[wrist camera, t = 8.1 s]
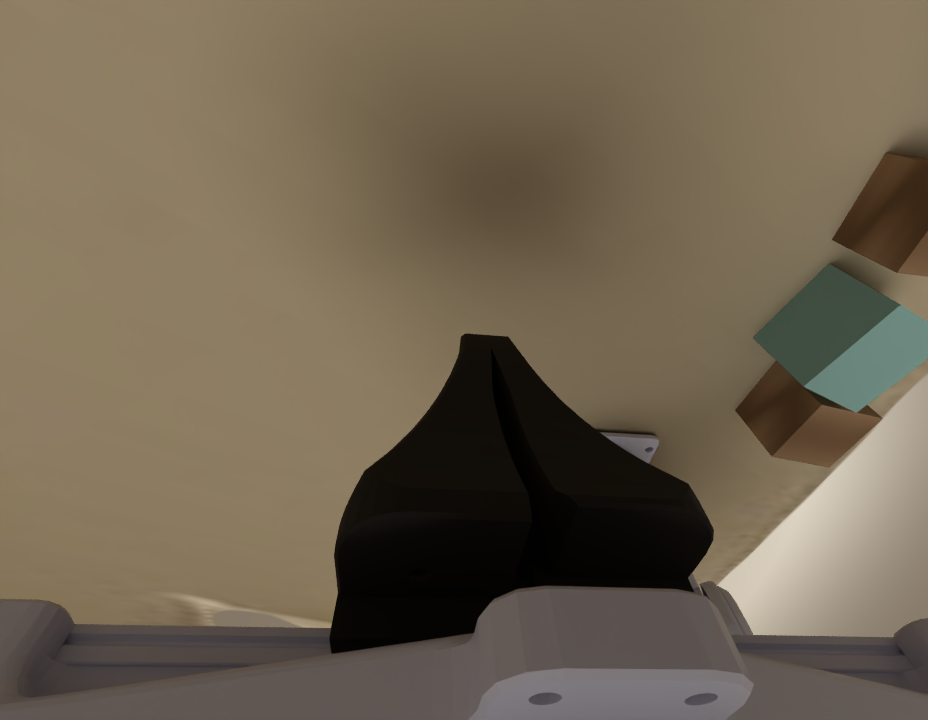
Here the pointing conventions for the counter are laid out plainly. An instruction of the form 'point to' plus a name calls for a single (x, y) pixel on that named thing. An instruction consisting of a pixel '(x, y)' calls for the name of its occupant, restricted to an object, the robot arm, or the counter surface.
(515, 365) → the robot arm
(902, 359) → the teal block
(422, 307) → the counter surface
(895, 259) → the brown cube
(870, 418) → the reddish brown cubic block
